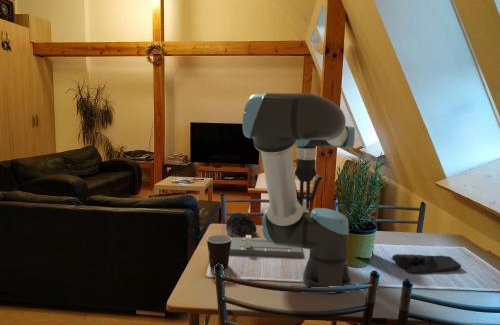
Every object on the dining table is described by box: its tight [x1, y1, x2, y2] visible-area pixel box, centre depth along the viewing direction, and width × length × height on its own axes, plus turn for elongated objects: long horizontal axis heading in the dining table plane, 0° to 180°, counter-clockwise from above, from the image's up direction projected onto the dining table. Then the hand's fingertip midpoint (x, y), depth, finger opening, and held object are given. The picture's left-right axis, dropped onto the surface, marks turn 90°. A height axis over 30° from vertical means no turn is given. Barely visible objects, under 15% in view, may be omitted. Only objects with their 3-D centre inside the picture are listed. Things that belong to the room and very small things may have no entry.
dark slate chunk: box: [390, 253, 462, 275], centre depth 128 cm, size 15×22×5 cm
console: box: [230, 236, 303, 258], centre depth 139 cm, size 14×28×2 cm, turn 87°
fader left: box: [245, 235, 252, 248], centre depth 136 cm, size 3×2×4 cm, turn 177°
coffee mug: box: [206, 234, 232, 270], centre depth 124 cm, size 12×9×10 cm
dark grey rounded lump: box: [225, 212, 257, 238], centre depth 157 cm, size 13×14×10 cm
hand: (303, 216), depth 141 cm, fingers closed
